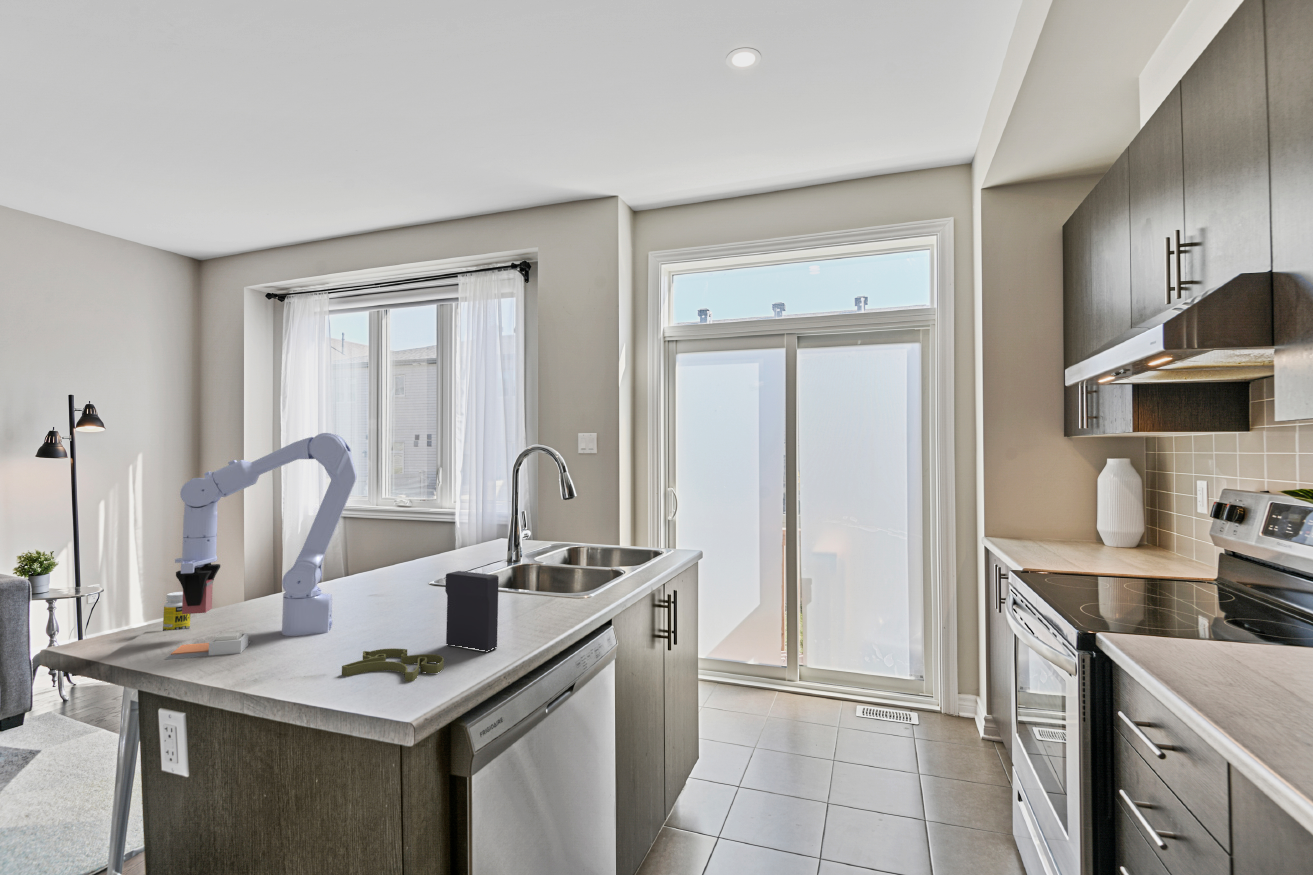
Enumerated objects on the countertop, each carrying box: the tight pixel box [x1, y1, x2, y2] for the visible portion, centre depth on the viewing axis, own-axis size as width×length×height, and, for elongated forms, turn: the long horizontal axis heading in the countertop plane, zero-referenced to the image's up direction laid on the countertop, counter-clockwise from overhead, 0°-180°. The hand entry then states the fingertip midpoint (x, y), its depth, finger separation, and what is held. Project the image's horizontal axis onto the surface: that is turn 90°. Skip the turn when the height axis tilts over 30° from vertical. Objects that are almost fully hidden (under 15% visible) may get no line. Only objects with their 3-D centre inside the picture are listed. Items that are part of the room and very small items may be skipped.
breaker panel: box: [164, 632, 253, 661], centre depth 122 cm, size 12×9×4 cm
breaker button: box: [214, 630, 244, 641], centre depth 122 cm, size 4×4×3 cm
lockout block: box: [182, 580, 214, 615], centre depth 130 cm, size 4×4×6 cm
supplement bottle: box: [162, 591, 192, 632], centre depth 139 cm, size 5×5×8 cm
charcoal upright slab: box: [444, 570, 500, 651], centre depth 130 cm, size 11×4×15 cm, turn 65°
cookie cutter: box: [341, 647, 445, 682], centre depth 117 cm, size 18×12×2 cm, turn 79°
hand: (197, 602), depth 130 cm, fingers closed on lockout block, 4 cm apart
